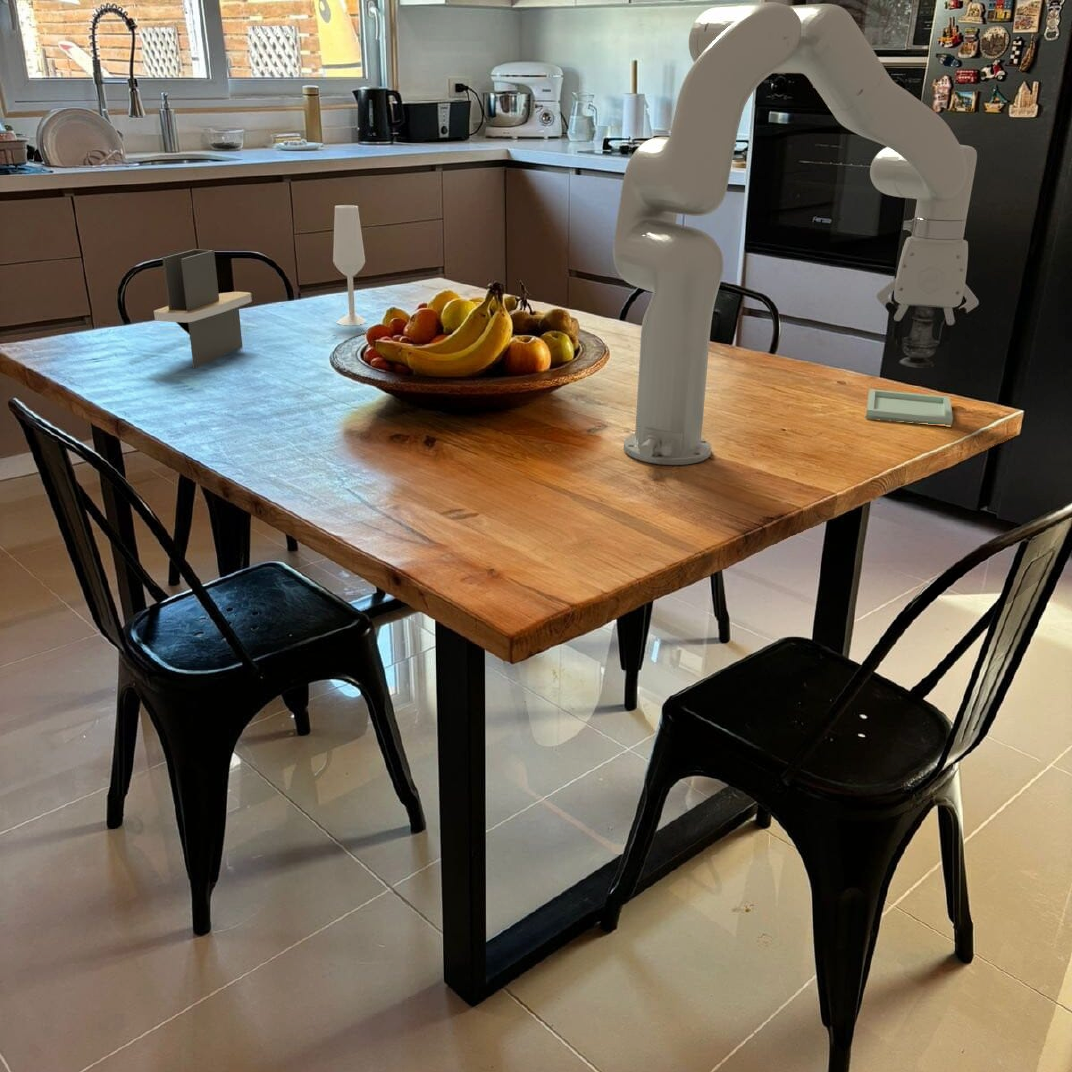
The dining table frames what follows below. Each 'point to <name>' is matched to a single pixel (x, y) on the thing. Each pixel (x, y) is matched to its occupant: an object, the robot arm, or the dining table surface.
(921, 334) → the salt shaker
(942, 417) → the tray
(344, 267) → the champagne flute
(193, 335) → the architectural model
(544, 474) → the dining table surface
